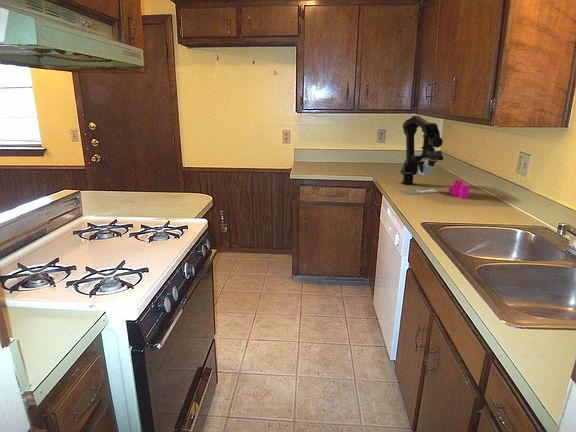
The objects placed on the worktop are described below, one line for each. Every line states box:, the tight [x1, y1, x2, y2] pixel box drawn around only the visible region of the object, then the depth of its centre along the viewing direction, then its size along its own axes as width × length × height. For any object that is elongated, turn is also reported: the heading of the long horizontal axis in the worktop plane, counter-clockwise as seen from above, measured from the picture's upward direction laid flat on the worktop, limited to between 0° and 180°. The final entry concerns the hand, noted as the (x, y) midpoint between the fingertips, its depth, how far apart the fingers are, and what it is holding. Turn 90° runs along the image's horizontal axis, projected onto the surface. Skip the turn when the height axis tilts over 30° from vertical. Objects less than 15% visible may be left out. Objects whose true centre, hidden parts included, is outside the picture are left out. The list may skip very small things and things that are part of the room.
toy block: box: [448, 179, 470, 200], centre depth 222 cm, size 15×6×8 cm, turn 173°
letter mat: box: [400, 188, 443, 195], centre depth 231 cm, size 9×23×1 cm, turn 108°
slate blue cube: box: [418, 164, 433, 176], centre depth 229 cm, size 5×5×5 cm
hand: (425, 172), depth 230 cm, fingers closed on slate blue cube, 5 cm apart
